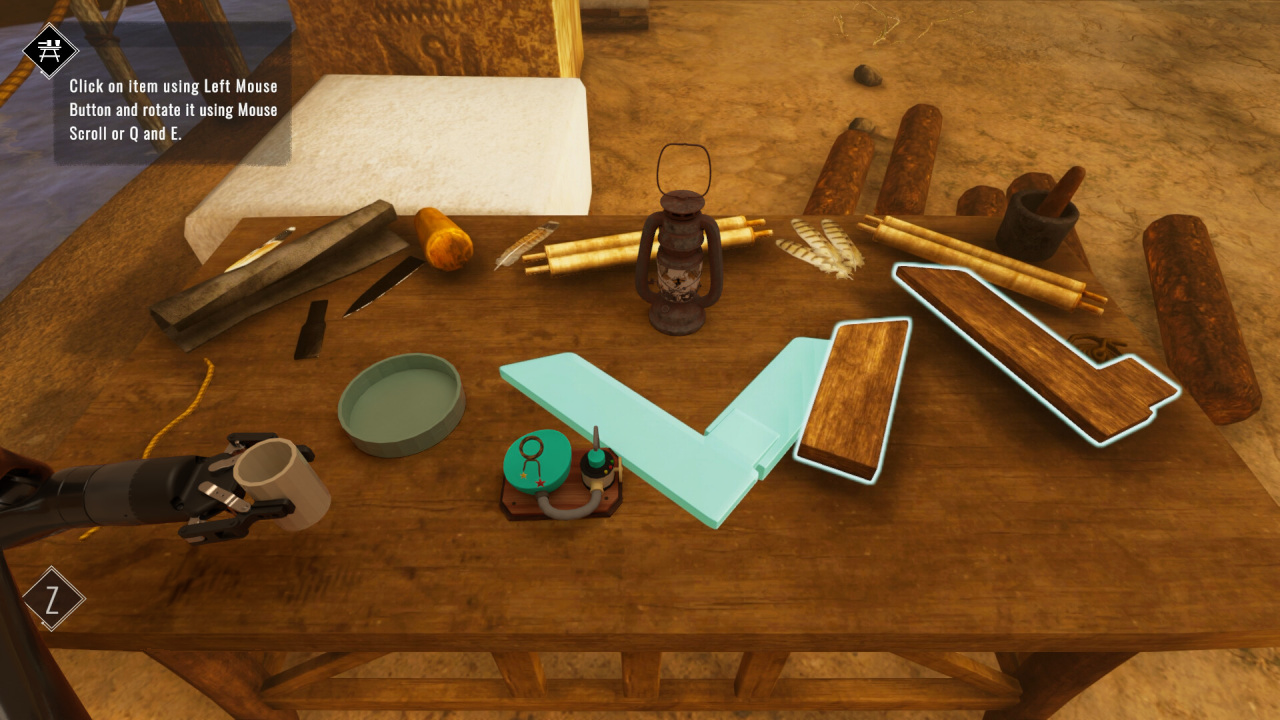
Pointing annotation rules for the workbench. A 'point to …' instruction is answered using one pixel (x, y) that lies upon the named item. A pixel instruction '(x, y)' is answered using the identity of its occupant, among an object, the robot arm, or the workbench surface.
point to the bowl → (402, 405)
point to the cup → (283, 481)
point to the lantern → (679, 260)
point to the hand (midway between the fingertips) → (302, 479)
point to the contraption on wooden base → (559, 479)
